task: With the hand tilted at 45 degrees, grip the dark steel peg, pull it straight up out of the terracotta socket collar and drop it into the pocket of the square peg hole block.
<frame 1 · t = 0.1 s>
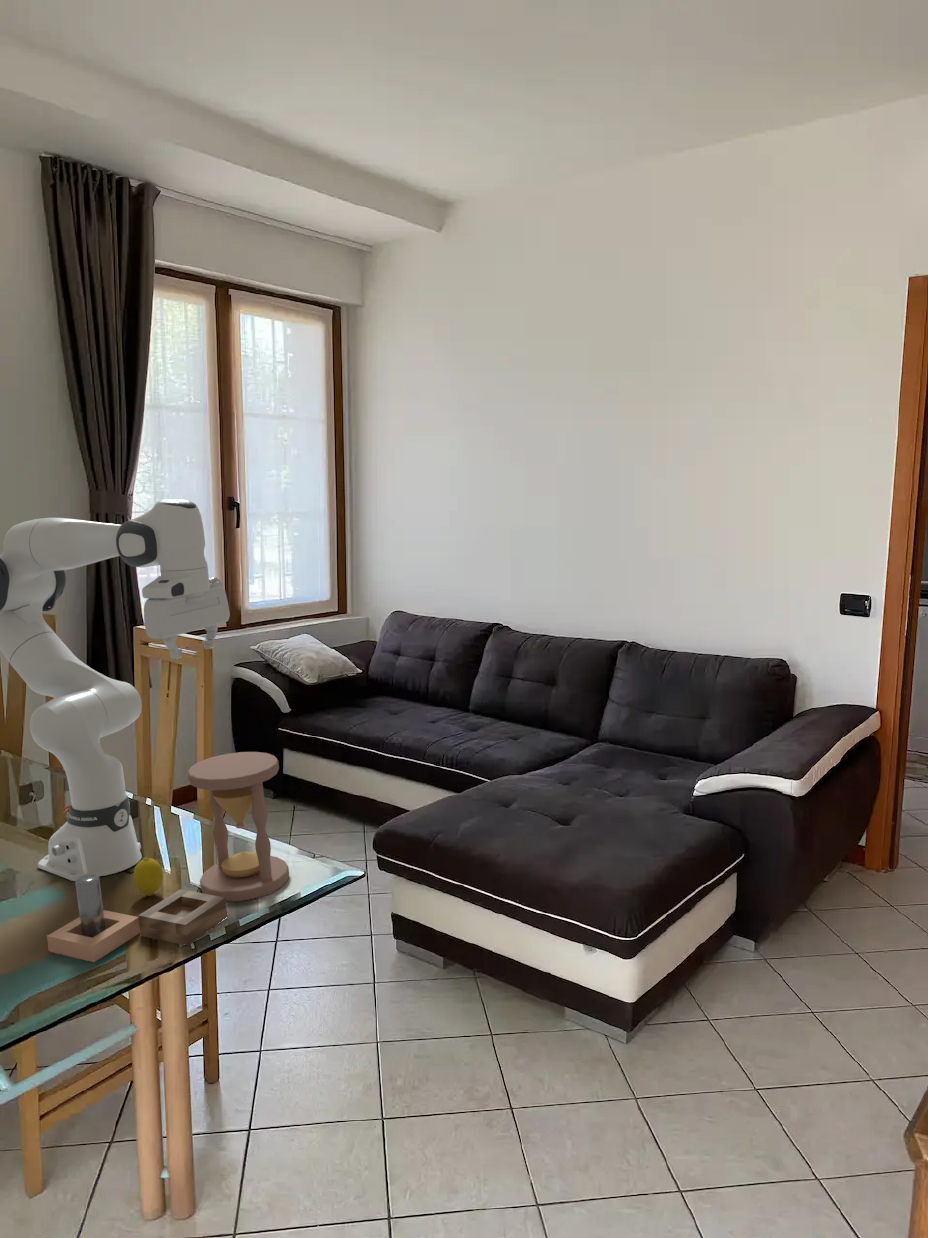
hand: (193, 653, 182), 48 cm above the table, tool pointing down, fingers open, 8 cm apart
socket collar: (95, 942, 168), on the table
hourglass: (245, 883, 190), on the table
lemon: (150, 896, 186), on the table
steel peg: (91, 911, 167), in the socket collar
square peg hole block: (184, 926, 172), on the table
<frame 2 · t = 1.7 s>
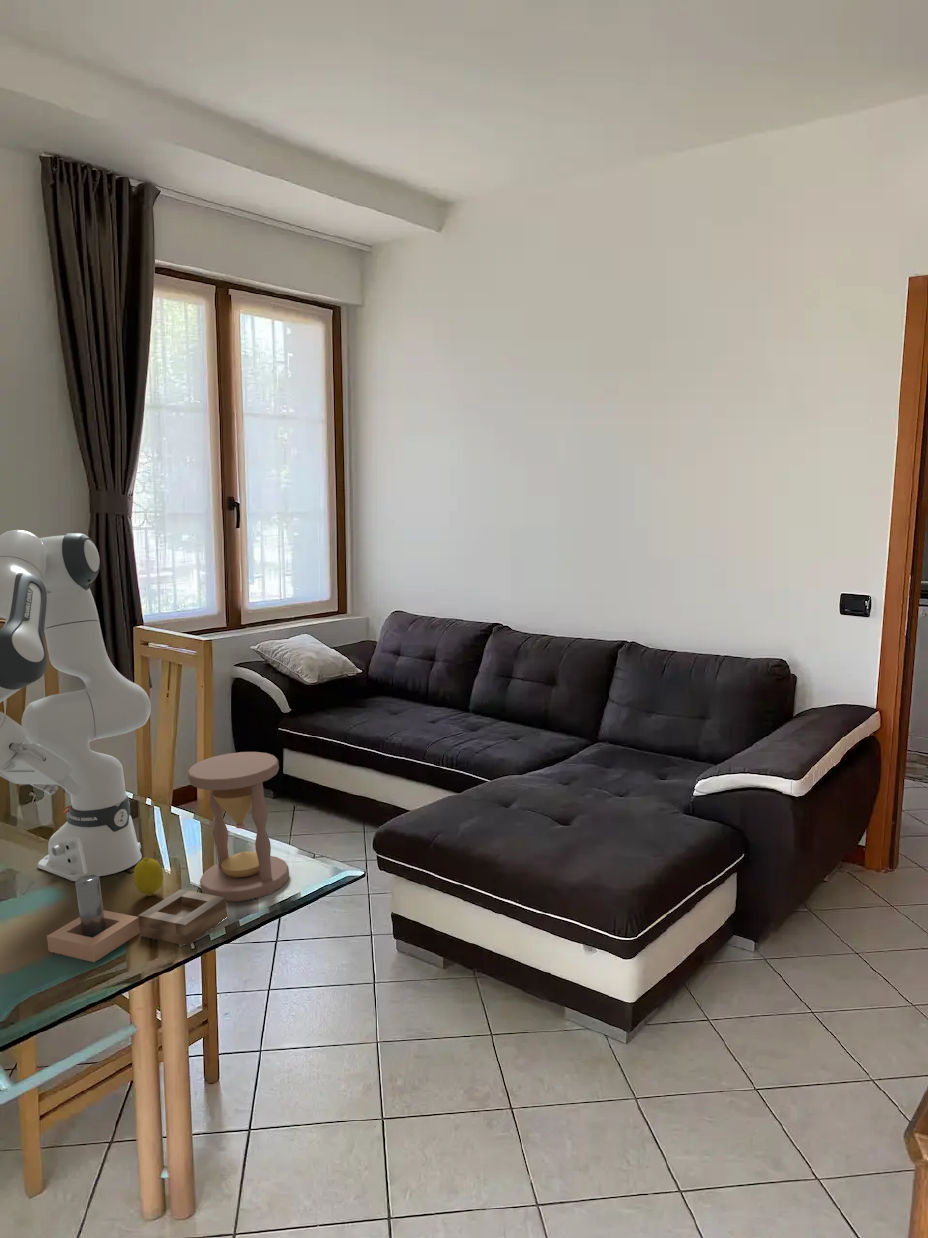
hand: (66, 791, 162), 29 cm above the table, tool tilted 40°, fingers open, 8 cm apart
nothing on the table moved.
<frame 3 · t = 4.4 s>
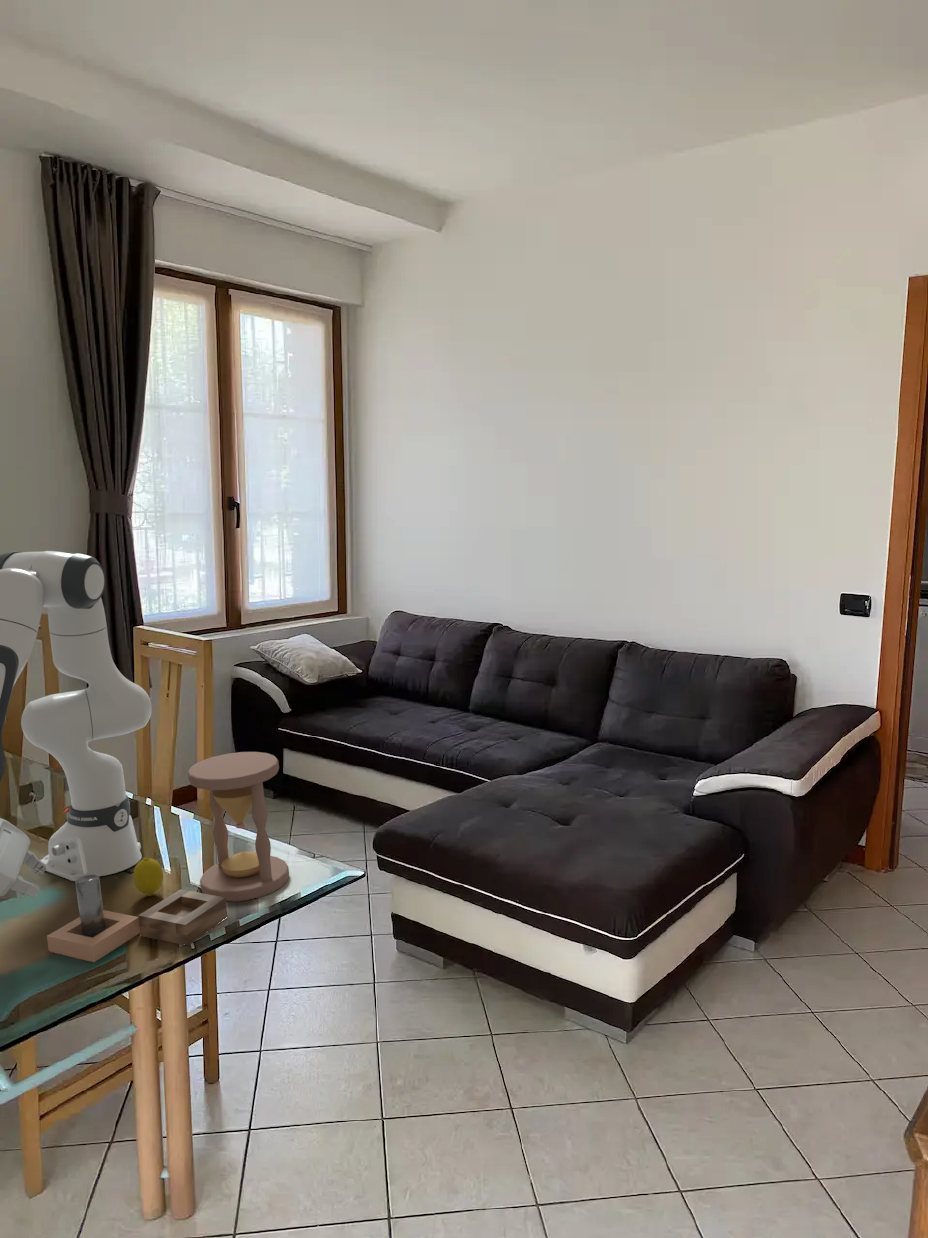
hand: (40, 881, 164), 13 cm above the table, tool tilted 45°, fingers open, 8 cm apart
nothing on the table moved.
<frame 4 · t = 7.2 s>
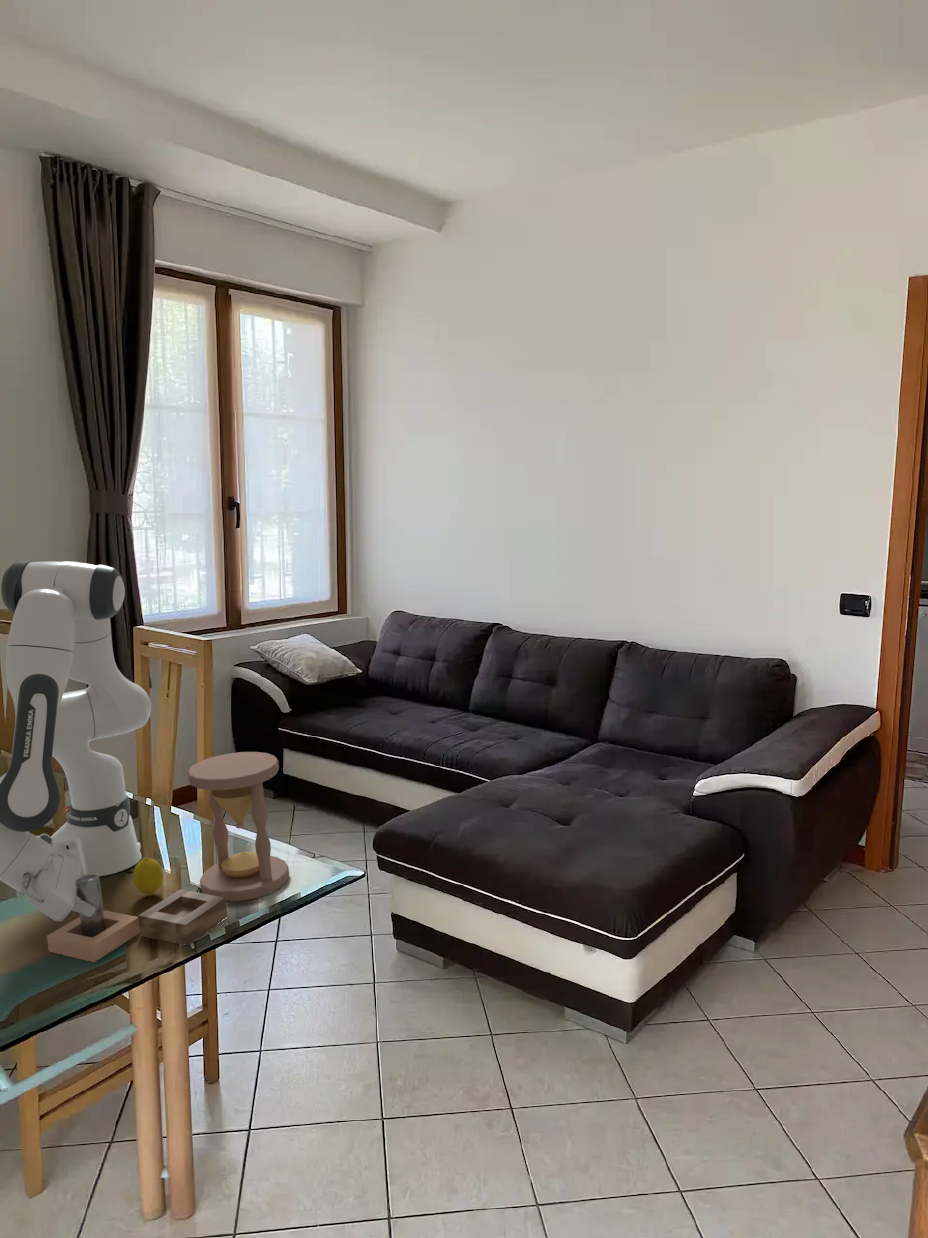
hand: (94, 905, 167), 7 cm above the table, tool tilted 45°, fingers closed on steel peg, 4 cm apart
steel peg: (91, 911, 167), in the socket collar, touching gripper
everything else where it was.
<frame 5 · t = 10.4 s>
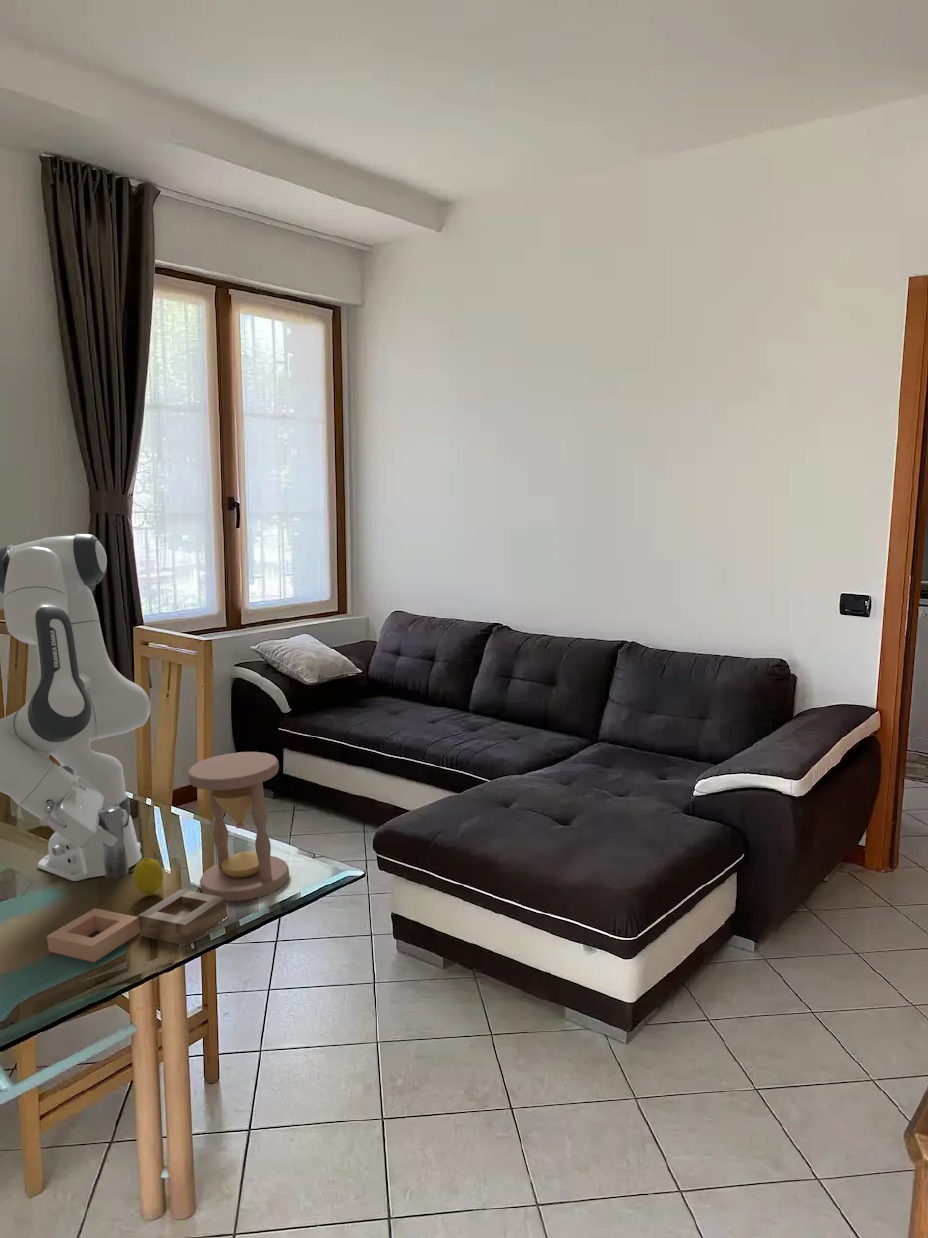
hand: (116, 836, 167), 19 cm above the table, tool tilted 45°, fingers closed on steel peg, 4 cm apart
steel peg: (113, 842, 167), point 18 cm above the table, touching gripper
everything else where it was.
when the fingers open (10 cm above the table, at t = 13.9 s): steel peg drops 1 cm, resting on square peg hole block.
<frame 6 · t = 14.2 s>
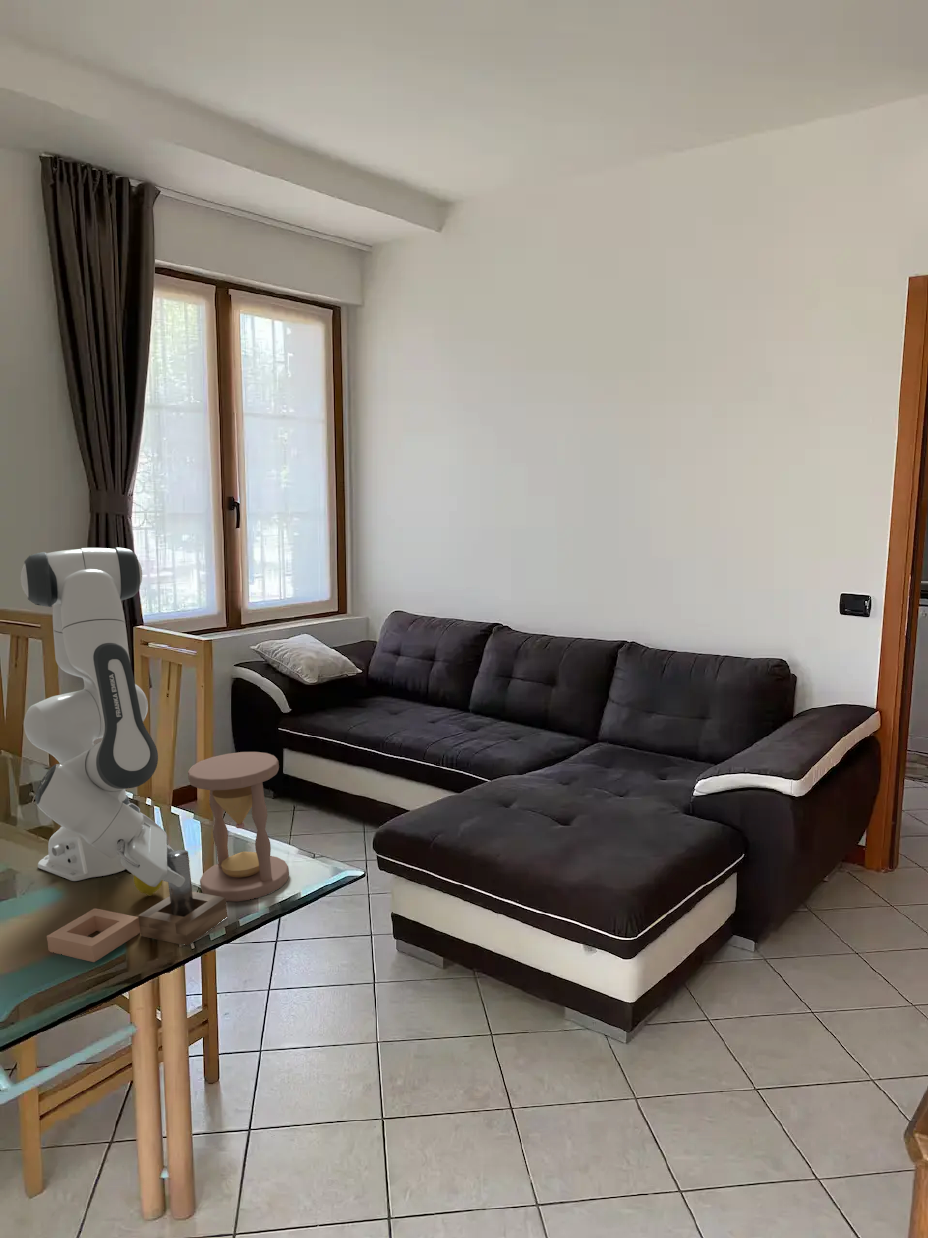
hand: (182, 873, 171), 10 cm above the table, tool tilted 45°, fingers open, 7 cm apart
steel peg: (180, 885, 171), in the square peg hole block, point 8 cm above the table
everything else where it was.
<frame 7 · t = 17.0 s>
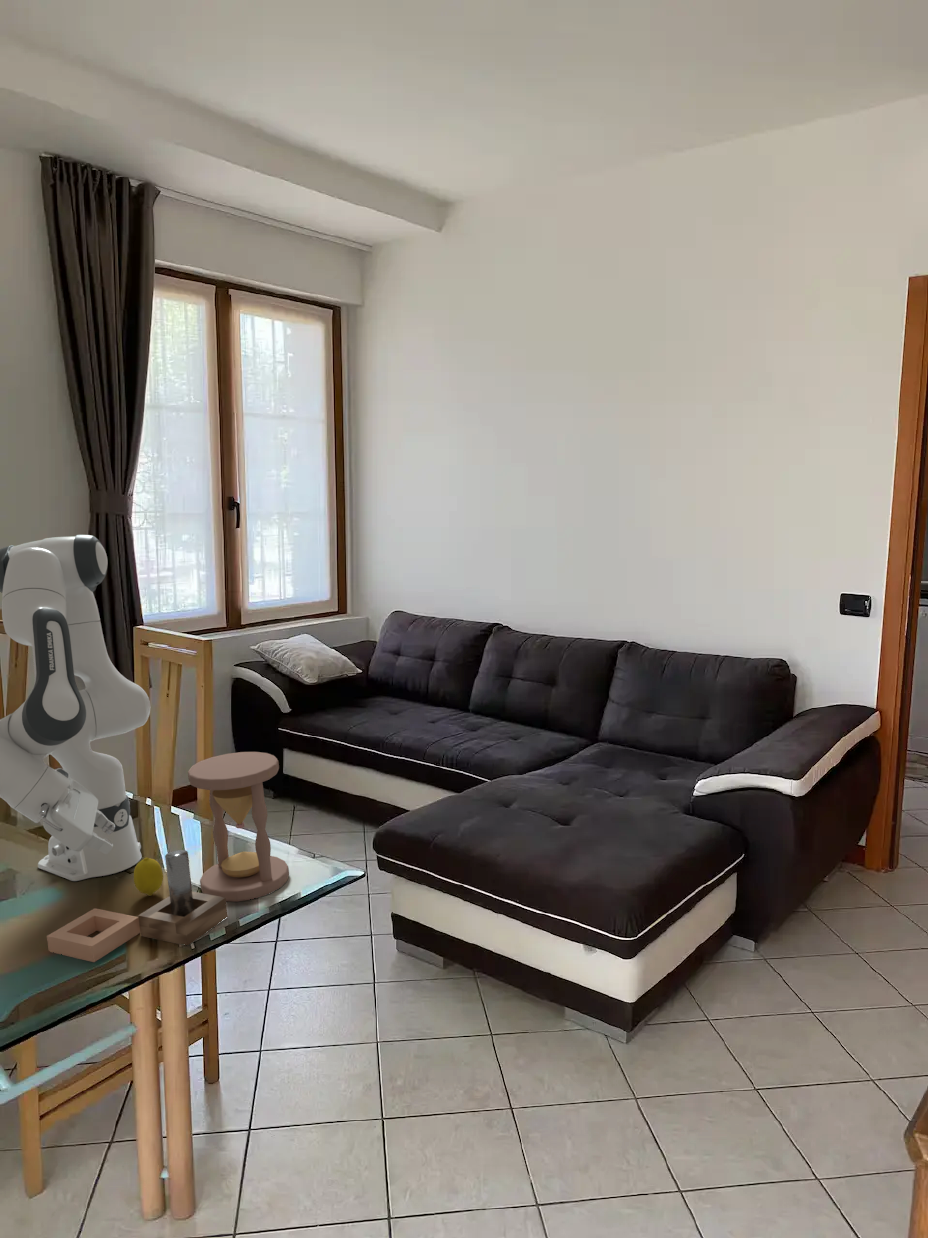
hand: (111, 839, 166), 19 cm above the table, tool tilted 45°, fingers open, 8 cm apart
nothing on the table moved.
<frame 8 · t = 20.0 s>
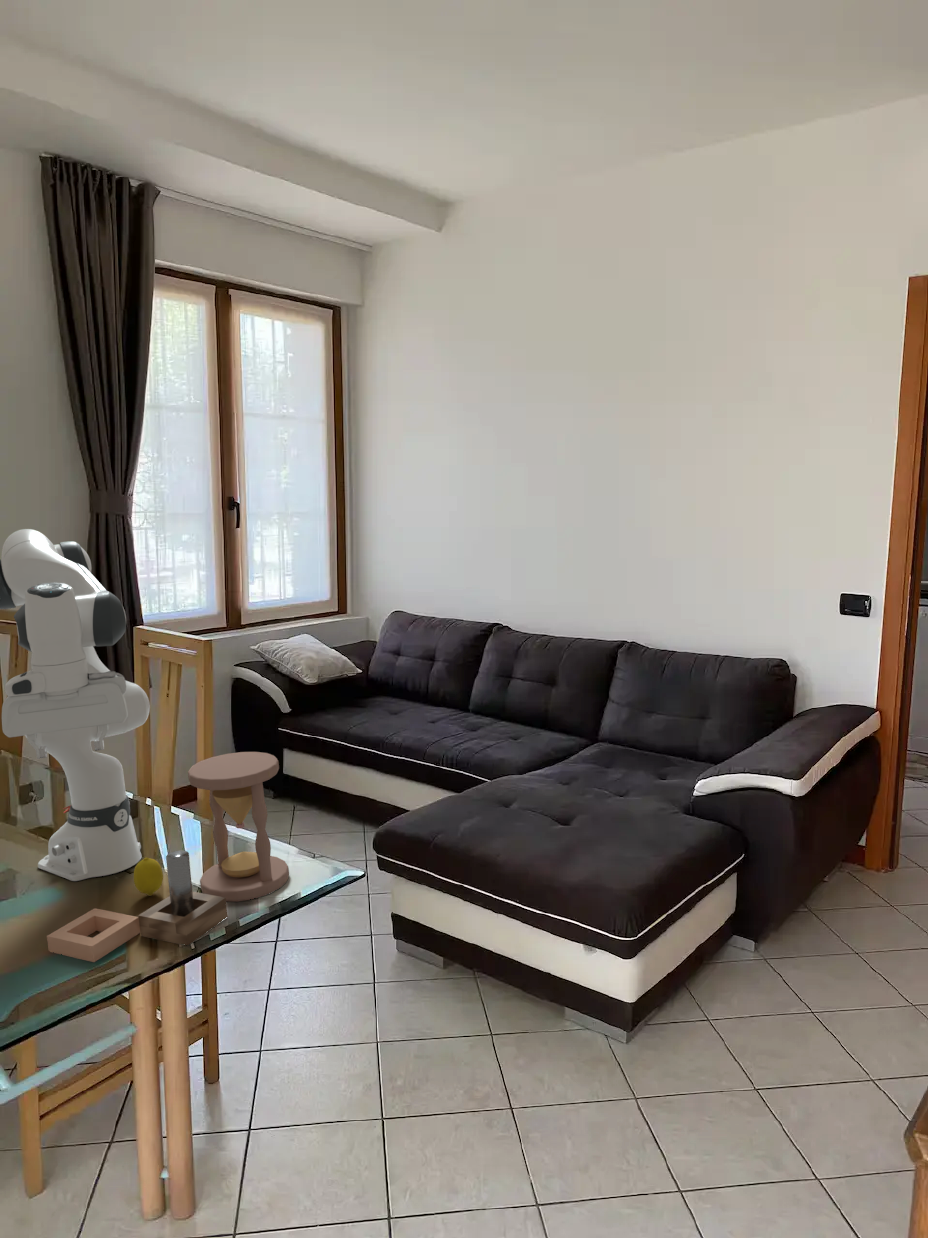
hand: (71, 753, 164), 35 cm above the table, tool pointing down, fingers open, 8 cm apart
nothing on the table moved.
at the end: steel peg 0.1 cm off-centre on the square peg hole block, point 8.1 cm above the square peg hole block's base; steel peg tilted 2°; the gripper is holding nothing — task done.
